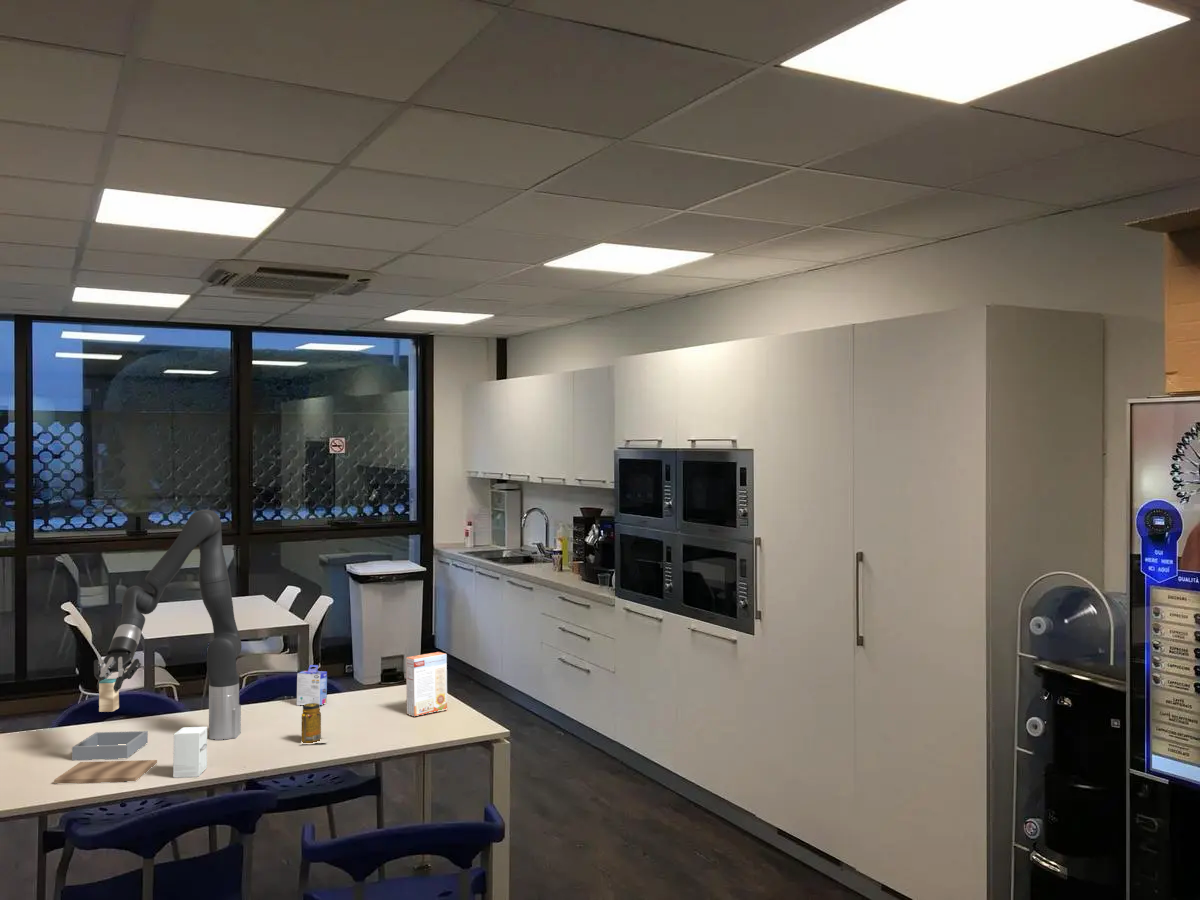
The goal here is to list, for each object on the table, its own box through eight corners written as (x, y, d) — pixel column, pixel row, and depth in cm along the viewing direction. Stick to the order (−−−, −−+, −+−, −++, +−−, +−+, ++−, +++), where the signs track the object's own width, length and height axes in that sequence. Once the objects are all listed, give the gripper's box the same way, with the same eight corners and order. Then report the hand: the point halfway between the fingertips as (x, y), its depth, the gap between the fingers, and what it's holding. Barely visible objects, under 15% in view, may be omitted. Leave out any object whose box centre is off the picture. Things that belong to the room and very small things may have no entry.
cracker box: (438, 707, 347) (438, 651, 347) (447, 711, 342) (447, 653, 343) (405, 714, 337) (405, 656, 338) (414, 718, 333) (414, 658, 333)
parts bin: (147, 743, 302) (147, 731, 302) (127, 758, 286) (127, 745, 286) (95, 744, 301) (95, 732, 301) (72, 760, 285) (72, 747, 285)
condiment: (302, 739, 307) (302, 702, 307) (328, 738, 308) (328, 701, 308) (298, 745, 300) (298, 708, 300) (326, 744, 301) (326, 707, 301)
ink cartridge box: (327, 703, 353) (327, 664, 354) (320, 707, 348) (320, 668, 348) (303, 702, 355) (303, 663, 356) (296, 705, 350) (296, 666, 350)
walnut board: (157, 763, 281) (157, 759, 281) (135, 781, 265) (135, 777, 265) (80, 766, 279) (80, 762, 279) (53, 784, 263) (53, 779, 263)
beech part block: (118, 708, 286) (118, 678, 286) (112, 711, 282) (112, 681, 282) (105, 708, 286) (105, 678, 286) (99, 711, 282) (99, 681, 282)
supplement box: (199, 777, 269) (199, 733, 269) (172, 778, 268) (172, 733, 269) (207, 769, 276) (208, 726, 277) (181, 769, 276) (182, 726, 276)
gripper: (97, 635, 292) (78, 684, 280) (144, 634, 293) (128, 682, 281) (105, 649, 298) (87, 697, 285) (151, 648, 299) (135, 696, 286)
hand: (107, 689), depth 283 cm, fingers closed on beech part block, 4 cm apart
